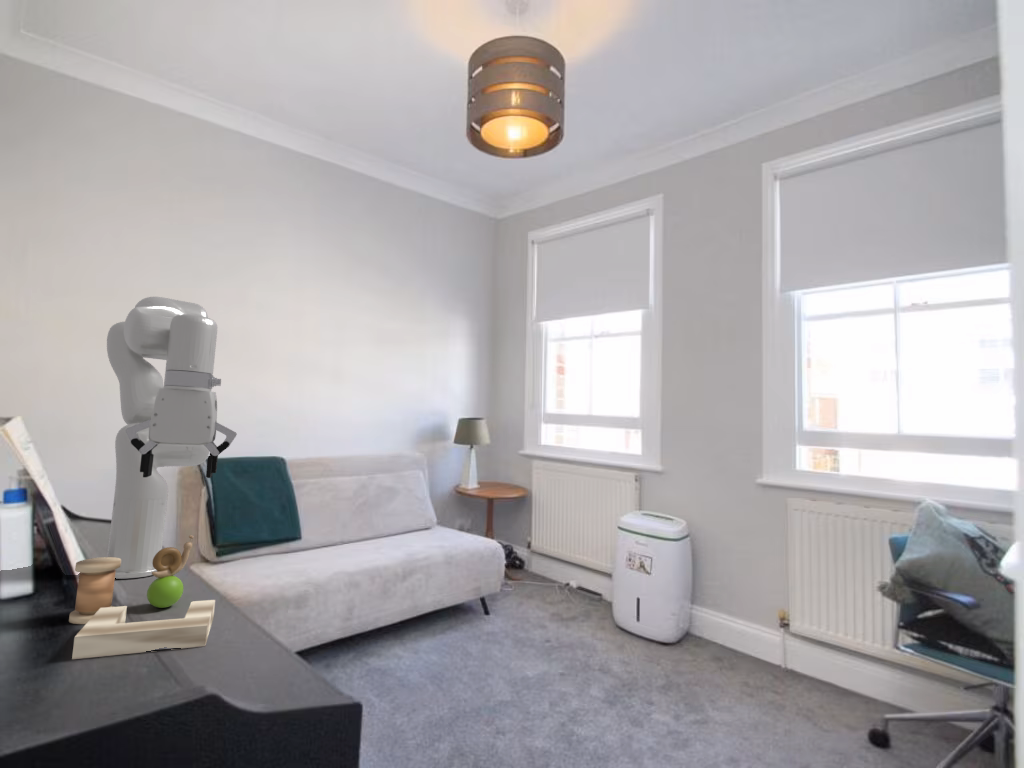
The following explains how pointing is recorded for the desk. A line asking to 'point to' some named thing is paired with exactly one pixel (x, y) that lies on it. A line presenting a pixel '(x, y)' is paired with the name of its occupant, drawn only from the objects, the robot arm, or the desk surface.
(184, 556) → the snail figurine
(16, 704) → the desk surface
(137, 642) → the notched board
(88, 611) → the bobbin
